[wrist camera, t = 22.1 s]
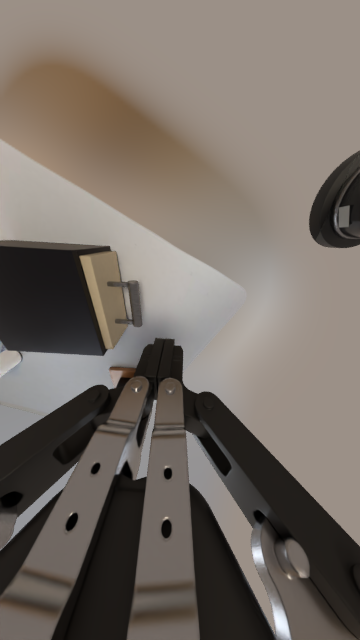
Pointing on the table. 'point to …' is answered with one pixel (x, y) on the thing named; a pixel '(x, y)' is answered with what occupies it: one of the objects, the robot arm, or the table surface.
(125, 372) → the plate
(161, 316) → the table surface
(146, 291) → the table surface
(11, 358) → the can
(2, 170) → the table surface
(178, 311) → the table surface
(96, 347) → the black storage cabinet
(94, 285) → the drawer
